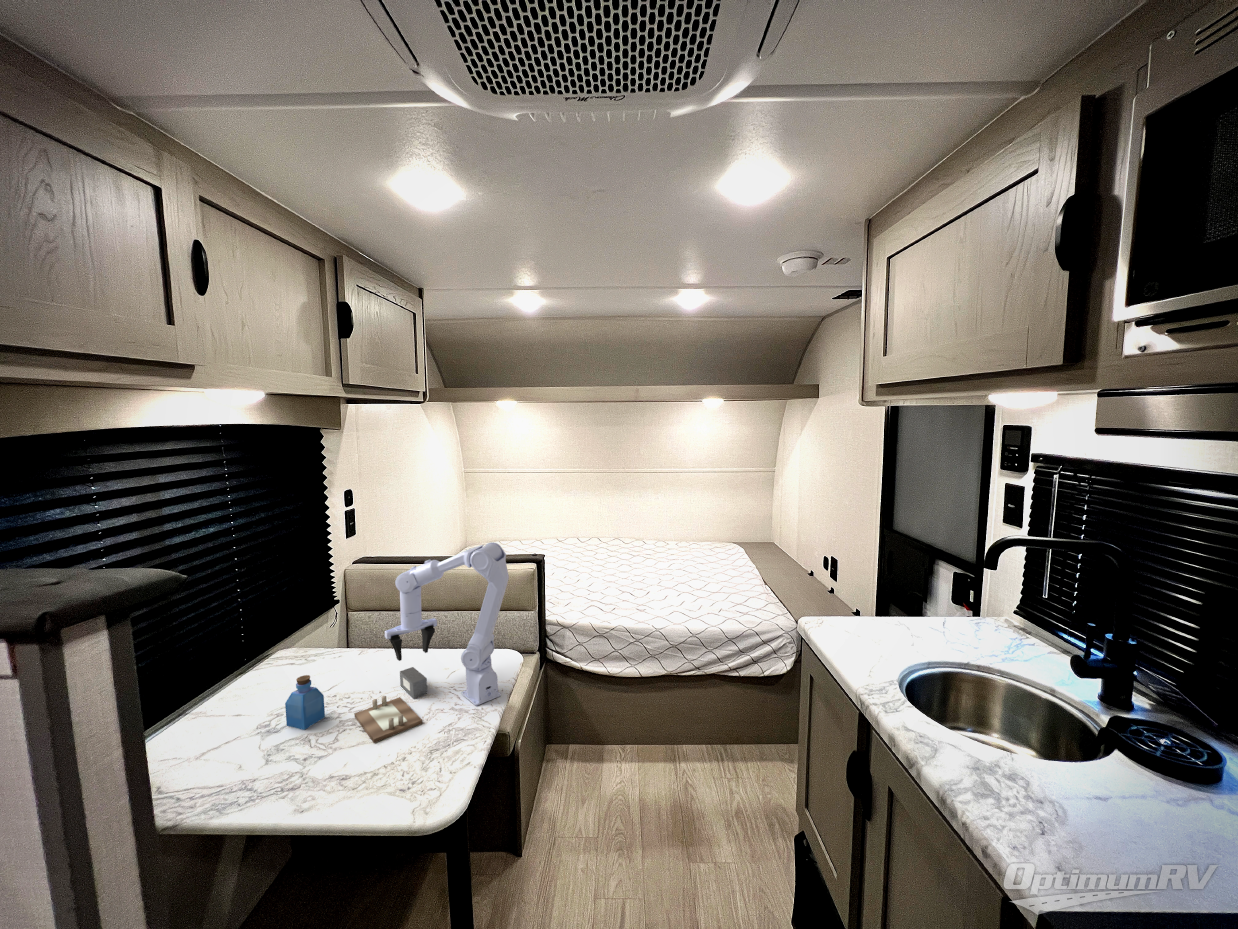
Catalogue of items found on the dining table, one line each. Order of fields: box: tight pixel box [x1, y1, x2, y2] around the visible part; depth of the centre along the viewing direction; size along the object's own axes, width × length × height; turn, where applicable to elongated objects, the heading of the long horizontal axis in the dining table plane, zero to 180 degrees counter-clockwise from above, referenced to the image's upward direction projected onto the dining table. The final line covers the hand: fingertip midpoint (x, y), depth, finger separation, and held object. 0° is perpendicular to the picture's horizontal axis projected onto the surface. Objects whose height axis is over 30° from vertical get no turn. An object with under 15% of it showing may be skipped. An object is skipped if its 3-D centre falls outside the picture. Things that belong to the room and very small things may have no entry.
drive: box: [399, 666, 428, 700], centre depth 151 cm, size 10×4×5 cm, turn 44°
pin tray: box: [354, 695, 423, 744], centre depth 135 cm, size 16×12×4 cm
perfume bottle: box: [284, 674, 326, 731], centre depth 135 cm, size 6×6×12 cm
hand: (412, 655), depth 150 cm, fingers open, 7 cm apart
